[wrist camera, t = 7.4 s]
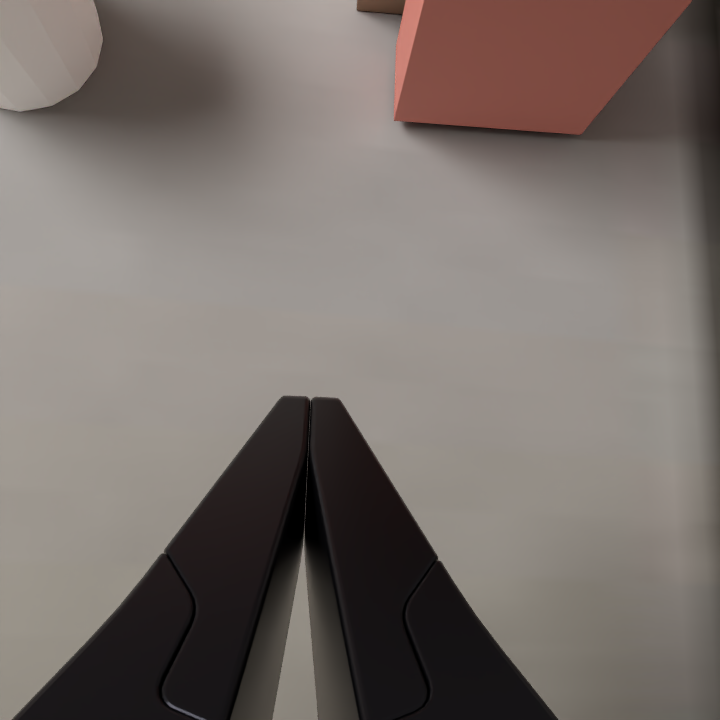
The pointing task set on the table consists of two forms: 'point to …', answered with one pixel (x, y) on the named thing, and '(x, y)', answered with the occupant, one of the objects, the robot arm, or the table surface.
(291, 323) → the table surface
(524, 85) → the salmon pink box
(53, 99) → the shot glass
